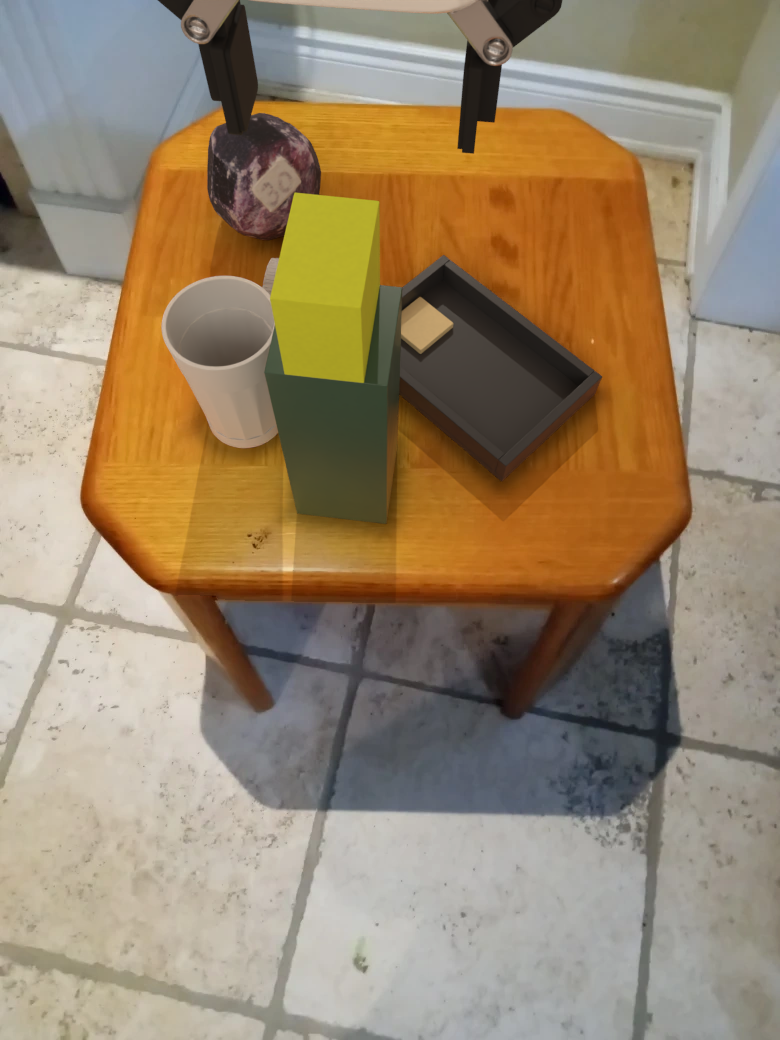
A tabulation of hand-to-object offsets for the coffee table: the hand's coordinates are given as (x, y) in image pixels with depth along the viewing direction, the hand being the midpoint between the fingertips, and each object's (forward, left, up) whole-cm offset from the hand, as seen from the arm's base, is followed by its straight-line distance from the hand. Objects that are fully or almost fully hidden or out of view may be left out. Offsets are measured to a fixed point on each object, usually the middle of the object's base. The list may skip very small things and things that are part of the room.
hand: (355, 120), depth 35 cm
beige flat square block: (+7, -13, -32) cm, 35 cm away
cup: (+11, +3, -33) cm, 35 cm away
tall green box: (+1, +1, -33) cm, 33 cm away
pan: (+1, -13, -33) cm, 35 cm away
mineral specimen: (+26, -12, -33) cm, 43 cm away
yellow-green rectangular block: (+1, +1, -14) cm, 14 cm away
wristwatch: (+17, -6, -33) cm, 37 cm away
